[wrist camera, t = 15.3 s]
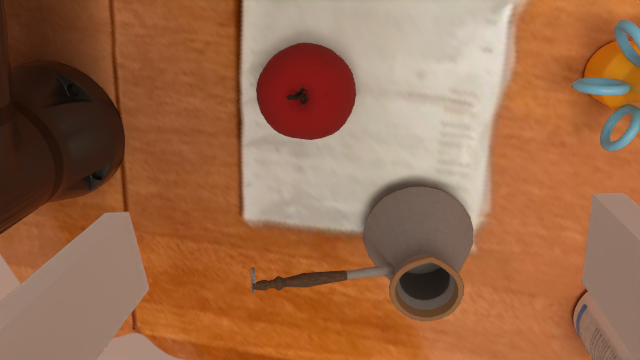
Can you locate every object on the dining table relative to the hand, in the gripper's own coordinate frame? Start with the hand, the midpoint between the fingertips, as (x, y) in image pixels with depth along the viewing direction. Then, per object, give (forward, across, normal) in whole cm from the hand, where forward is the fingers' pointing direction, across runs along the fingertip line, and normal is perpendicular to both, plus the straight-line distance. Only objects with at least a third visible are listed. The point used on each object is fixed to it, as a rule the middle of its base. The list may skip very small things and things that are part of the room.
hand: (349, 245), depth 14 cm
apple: (+37, -6, -2) cm, 37 cm away
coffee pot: (+37, -1, -18) cm, 41 cm away
